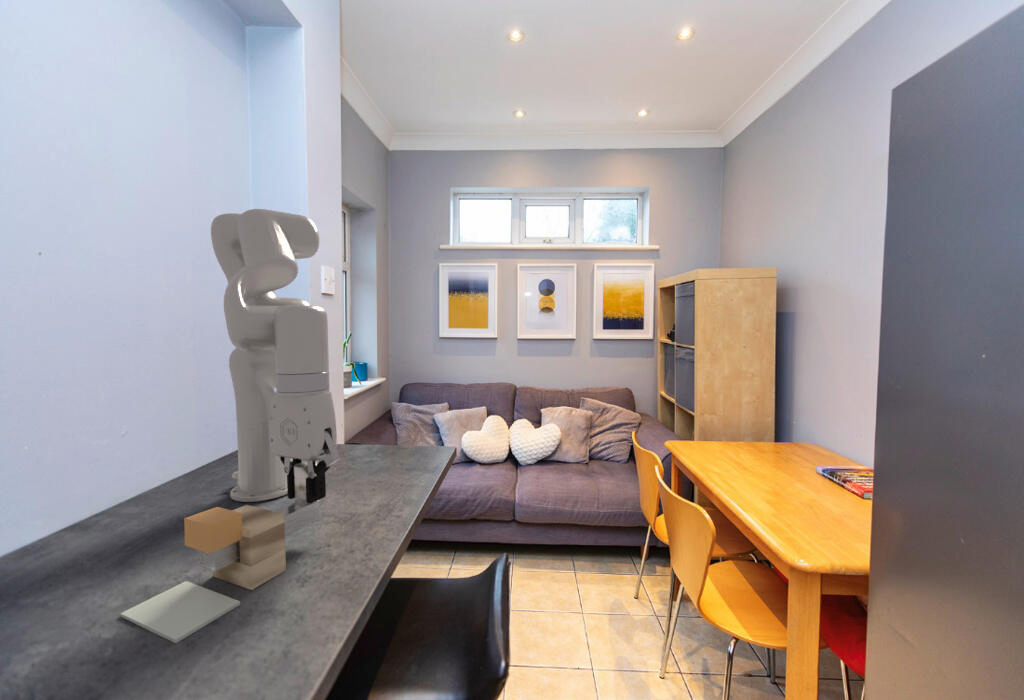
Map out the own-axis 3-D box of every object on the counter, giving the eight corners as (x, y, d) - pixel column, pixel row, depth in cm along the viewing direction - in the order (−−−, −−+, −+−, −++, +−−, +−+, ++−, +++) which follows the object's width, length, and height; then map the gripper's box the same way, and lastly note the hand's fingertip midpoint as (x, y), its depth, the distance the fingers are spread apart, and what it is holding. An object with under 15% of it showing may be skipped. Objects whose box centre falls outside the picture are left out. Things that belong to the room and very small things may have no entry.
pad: (120, 616, 50) (120, 613, 50) (186, 583, 56) (186, 580, 56) (175, 643, 45) (175, 639, 45) (240, 604, 52) (240, 601, 52)
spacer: (184, 545, 53) (184, 518, 53) (217, 532, 57) (217, 506, 57) (209, 553, 51) (209, 525, 51) (242, 539, 55) (241, 512, 55)
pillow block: (213, 576, 58) (210, 518, 57) (248, 558, 62) (246, 504, 62) (251, 590, 55) (249, 529, 54) (285, 569, 59) (284, 513, 59)
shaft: (199, 565, 54) (196, 497, 54) (308, 513, 69) (307, 460, 69) (216, 571, 53) (213, 501, 52) (323, 517, 68) (322, 462, 68)
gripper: (246, 384, 66) (250, 498, 67) (321, 389, 59) (325, 516, 60) (288, 379, 73) (291, 483, 74) (360, 383, 66) (363, 497, 67)
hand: (306, 496), depth 67 cm, fingers closed on shaft, 3 cm apart
